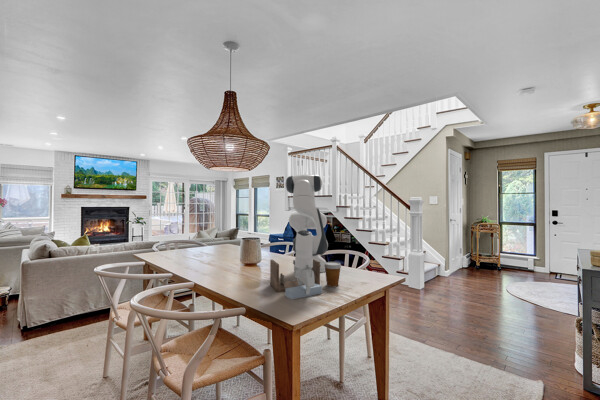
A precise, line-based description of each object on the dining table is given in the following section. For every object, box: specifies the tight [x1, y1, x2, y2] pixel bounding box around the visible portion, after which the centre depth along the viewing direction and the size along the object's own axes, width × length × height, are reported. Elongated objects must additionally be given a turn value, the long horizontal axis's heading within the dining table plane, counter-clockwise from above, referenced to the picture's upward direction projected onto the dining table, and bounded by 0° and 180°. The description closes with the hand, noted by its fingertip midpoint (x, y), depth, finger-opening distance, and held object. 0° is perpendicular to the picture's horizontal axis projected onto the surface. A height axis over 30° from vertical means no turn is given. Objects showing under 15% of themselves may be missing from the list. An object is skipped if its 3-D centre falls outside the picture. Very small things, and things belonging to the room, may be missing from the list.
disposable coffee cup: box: [324, 261, 342, 287], centre depth 165 cm, size 10×10×12 cm
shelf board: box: [284, 283, 323, 300], centre depth 147 cm, size 18×6×4 cm, turn 123°
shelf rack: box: [269, 259, 321, 293], centre depth 162 cm, size 24×14×14 cm, turn 109°
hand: (303, 291), depth 147 cm, fingers open, 8 cm apart
